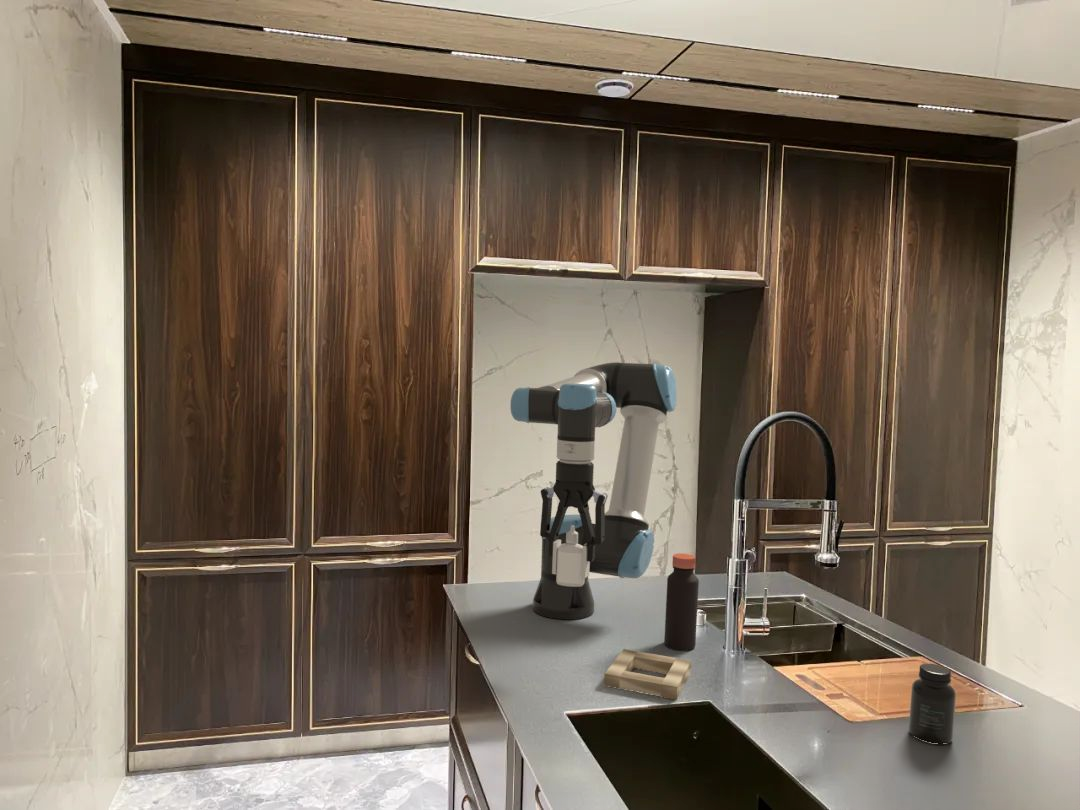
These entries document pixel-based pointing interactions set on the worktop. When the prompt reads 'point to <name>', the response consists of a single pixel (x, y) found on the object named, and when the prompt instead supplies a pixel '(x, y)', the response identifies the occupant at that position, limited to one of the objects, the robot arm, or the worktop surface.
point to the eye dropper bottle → (570, 561)
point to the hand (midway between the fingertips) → (570, 574)
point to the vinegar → (681, 604)
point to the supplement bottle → (932, 705)
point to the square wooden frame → (664, 687)
